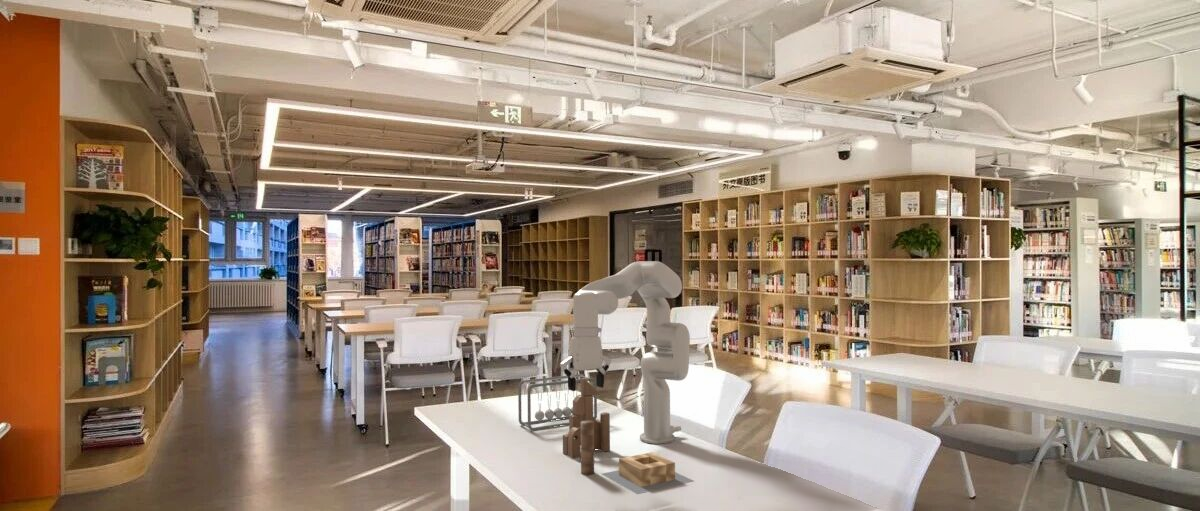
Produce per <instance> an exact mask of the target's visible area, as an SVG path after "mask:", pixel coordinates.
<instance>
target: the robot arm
mask: <svg viewBox="0 0 1200 511" xmlns="http://www.w3.org/2000/svg"><path fill="white" fill-rule="evenodd" d="M682 284H683V283H682V280H681V278H680V276H679V275H678V274H677V273H676V271H675V272H674V270H672V269H671V268H670V266H668V265H667V264H665V263H663V262H661V261H659V260H658V261H657V260H654V261H652V260H649V261H648V260H646V261H645V260H644V261H643V260H641V261H640V260H638V261H634V262H632V263H630V264H628V265H627V266H626V267H624V268H623V269H621V270H620V271H618V272H617V273H616V274H613V275H610V276H607V277H603V278H602V279H601V278H600V279H598V280H595V281H594V280H593V281H592V282H589V283H588V284H585V286H583V287H582V288H581V289H579V290H578V291H577V292H576V293H574V295H573V296H572V297H573V300H572V304H573V305H572V306H573V310H572V311H573V312H572V315H573V316H572V318H573V321H572V322H573V325H572V326H573V336H572V337H571V338H570V341H569V347H568V356H567V358H566V359H564V360H563V361H562V362H560V363H559V366H560V368H561V370H562V373H564V375H565V376H567V377H568V378H567V380H568V383H567V387H569V391H571V392H573V391H574V392H575V391H577V382H576V379H577V378H576V377H575V378H574V376H575V375H577V373H578V372H583V371H593V370H594V371H595V370H596V372H597V373H596V374H595V375H596V379H595V380H596V382H597V388H602V389H603V388H604V385H605V374H606V373H607V371H608V369H609V368H610V365H611V363H612V359H611V358H610V357H608V356H606V355H603V346H602V341H601V336H599V333H602V328H601V327H599V315H606V316H607V315H610V314H612V313H614V312H616V311H617V309H618V307H619V300H620V299H625V298H628V297H630V296H631V295H633V293H635V292H638V294H639V296H640V297H641V298H642V300H643V302H644V304H645V308H646V328H645V329H646V332H645V333H646V334H645V336H646V337H645V339H646V343H647V345H648V346H649V347H652V348H657V349H667V350H672V352H665V351H649V352H645V353H644V354H643V355H642V357H641V359H640V371H641V375H642V376H641V377H642V381H643V382H642V384H643V433H641V434H640V435H639V440H640V441H641V442H643V443H646V444H647V443H648V444H655V445H657V444H659V445H660V444H661V445H662V444H670V443H672V442H674V441H675V439H676V438H675V435H674V434H675V432H676V433H679V432H682V427H681V425H676V426H674V425H671V391H670V387H669V385H668V383H667V380H668V381H683V380H685V379H686V378H687V376H688V374H689V364H690V344H691V343H690V341H691V340H690V337H691V336H690V331H689V329H688V327H687V325H685V324H684V323H680V322H672V321H671V307H670V304H669V302H668V300H667V299H674V298H677V297H678V296H679V295H681V293H682V288H683V285H682ZM603 361H604V362H603ZM568 368H569V369H568Z"/></svg>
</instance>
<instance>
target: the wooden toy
mask: <svg viewBox="0 0 1200 511" xmlns="http://www.w3.org/2000/svg"><path fill="white" fill-rule="evenodd" d="M580 379H581V382H580V394H577V396H574V398H573V400H572V407H573V414H571V415H569V419H568V422H569V425H568V426H569V427H568V429H569V430H568V433H566V434H565V433H563V435H562V453H564V454H563V455H565V456H567V455H568V457H570V458H571V457H575V458H579V457H578V456H580V457H581V421H593V422H594V450H595V449H600V451H601V450H602V451H601V452H603V451H608V452H609V450H611V427H610V426H611V419H610V418H611V416H610V413H609V412H605V411H604V412H601V413H600V414H599V416H600V417H599V420H600V421H599V420H595V419H594V395H597V396H598V395H600V392H599V391H598V389H597V390H596V389H595V388H594V385H592V384H591V383H590V381H587V380H586V379H584V378H582V377H580ZM595 451H596V450H595Z"/></svg>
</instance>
